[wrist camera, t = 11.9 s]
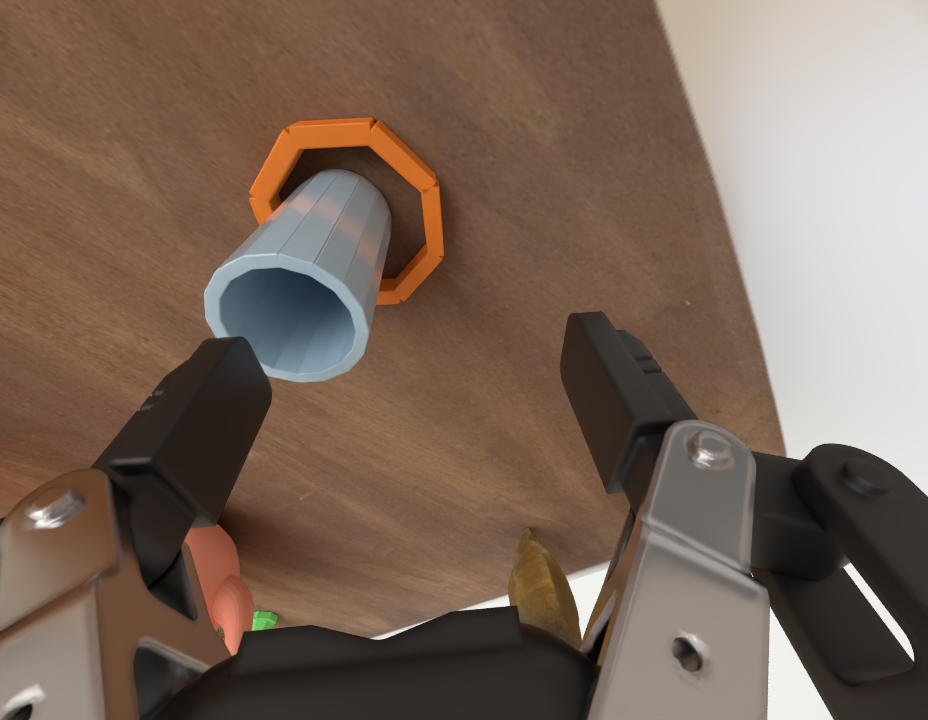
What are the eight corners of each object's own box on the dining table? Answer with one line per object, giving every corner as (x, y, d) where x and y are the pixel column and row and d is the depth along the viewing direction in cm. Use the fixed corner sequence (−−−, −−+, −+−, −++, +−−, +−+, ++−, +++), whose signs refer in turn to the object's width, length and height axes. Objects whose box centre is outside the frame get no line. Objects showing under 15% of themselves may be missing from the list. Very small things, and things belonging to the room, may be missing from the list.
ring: (235, 123, 15) (220, 129, 14) (434, 114, 15) (434, 118, 14) (299, 297, 20) (292, 311, 19) (446, 287, 20) (447, 300, 19)
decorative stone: (543, 546, 42) (586, 730, 31) (491, 548, 42) (515, 737, 30) (564, 502, 36) (626, 711, 25) (503, 504, 36) (538, 719, 24)
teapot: (123, 449, 27) (-69, 700, 16) (312, 528, 36) (266, 719, 26) (29, 523, 32) (-160, 748, 22) (215, 575, 41) (144, 749, 31)
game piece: (275, 610, 49) (259, 667, 45) (280, 620, 52) (265, 676, 47) (240, 611, 48) (221, 669, 44) (247, 621, 51) (229, 678, 47)
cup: (281, 171, 16) (169, 260, 9) (383, 165, 16) (348, 248, 9) (312, 265, 19) (244, 387, 12) (398, 259, 19) (380, 377, 12)
